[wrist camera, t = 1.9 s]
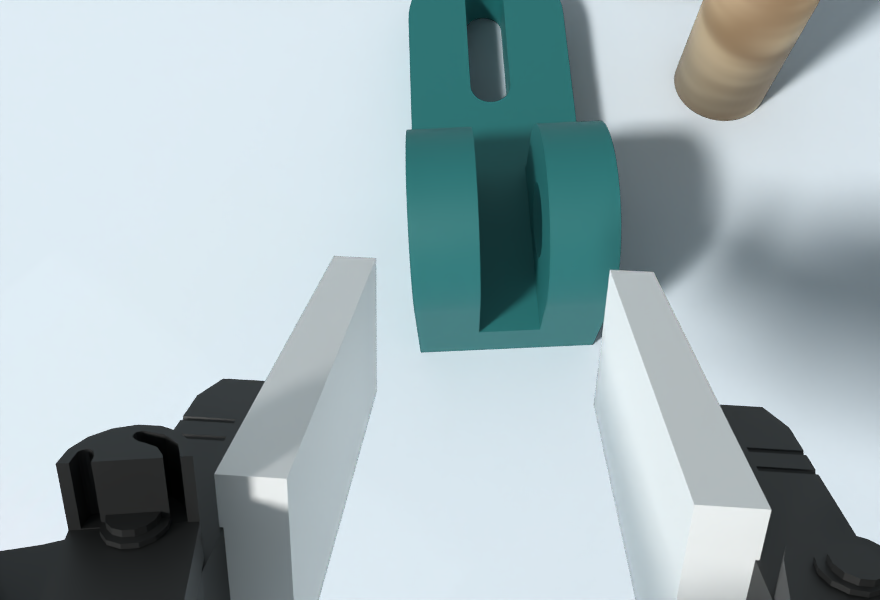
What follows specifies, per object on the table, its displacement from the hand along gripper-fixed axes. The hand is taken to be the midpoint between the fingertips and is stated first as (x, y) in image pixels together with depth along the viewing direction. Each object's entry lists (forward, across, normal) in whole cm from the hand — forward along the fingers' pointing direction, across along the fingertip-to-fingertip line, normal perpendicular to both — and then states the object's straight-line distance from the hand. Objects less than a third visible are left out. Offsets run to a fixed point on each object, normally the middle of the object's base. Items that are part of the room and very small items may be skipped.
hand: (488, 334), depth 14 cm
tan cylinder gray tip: (+24, +10, +1) cm, 26 cm away
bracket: (+22, 0, -2) cm, 22 cm away
